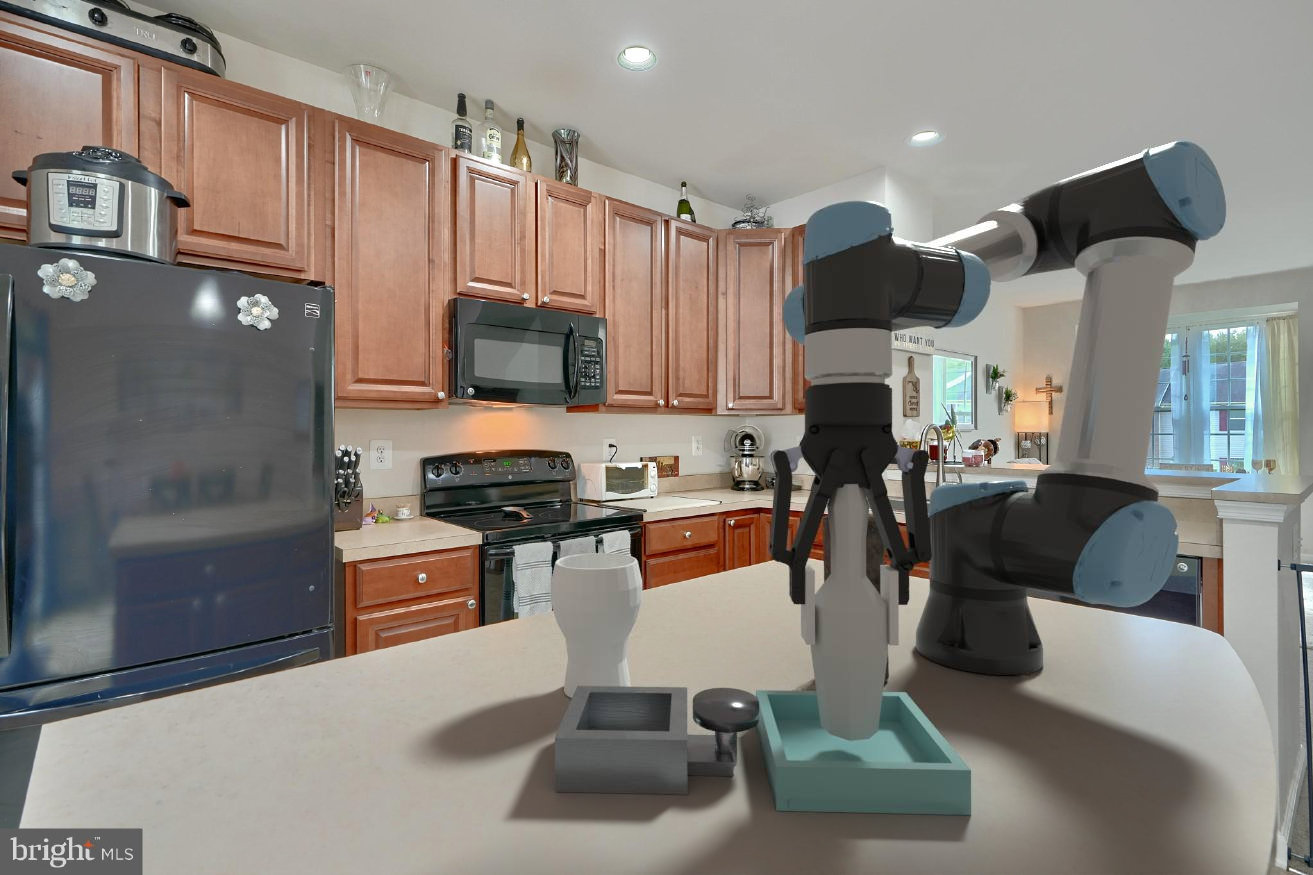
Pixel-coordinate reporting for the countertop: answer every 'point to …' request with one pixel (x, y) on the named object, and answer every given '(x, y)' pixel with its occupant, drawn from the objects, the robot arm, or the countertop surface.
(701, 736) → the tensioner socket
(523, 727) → the countertop surface
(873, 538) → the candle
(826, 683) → the grey faceted bottle
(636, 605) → the cup
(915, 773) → the tray
